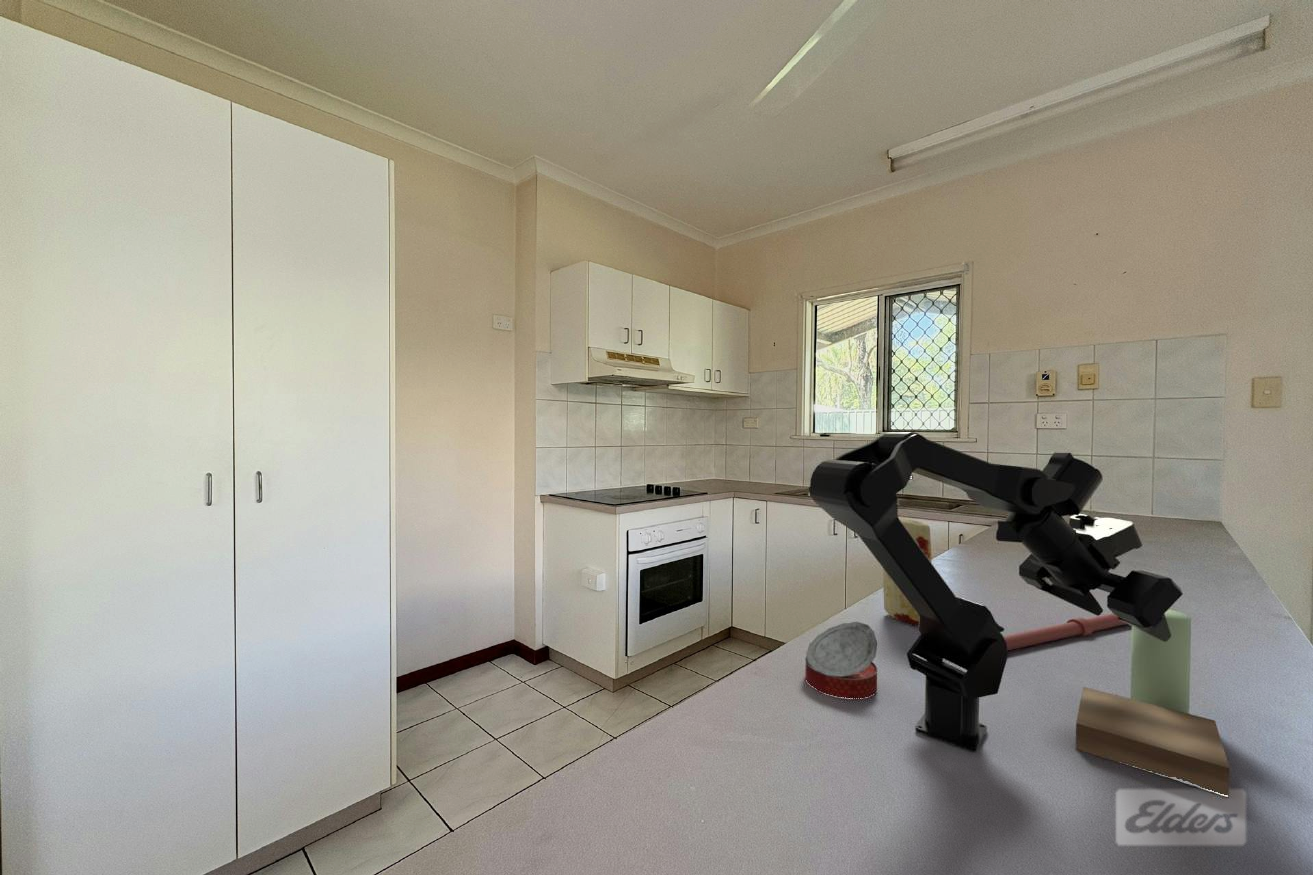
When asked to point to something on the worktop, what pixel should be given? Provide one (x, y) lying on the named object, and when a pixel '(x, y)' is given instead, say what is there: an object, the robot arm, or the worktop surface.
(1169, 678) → the green cylinder
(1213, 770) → the walnut base
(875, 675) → the canned food
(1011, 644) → the red collared rod
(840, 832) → the worktop surface
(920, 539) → the food model
